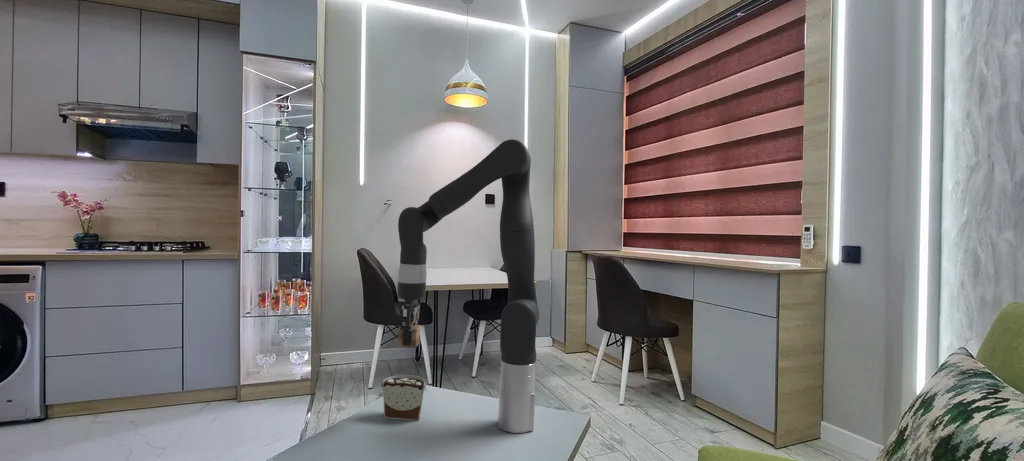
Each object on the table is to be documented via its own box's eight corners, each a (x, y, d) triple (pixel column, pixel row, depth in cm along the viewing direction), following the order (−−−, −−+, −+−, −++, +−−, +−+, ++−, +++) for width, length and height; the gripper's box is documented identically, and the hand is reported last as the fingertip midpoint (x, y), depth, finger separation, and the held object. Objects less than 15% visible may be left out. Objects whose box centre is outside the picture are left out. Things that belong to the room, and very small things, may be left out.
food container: (430, 412, 125) (432, 376, 125) (424, 421, 119) (425, 383, 119) (387, 408, 126) (389, 372, 126) (379, 417, 120) (380, 379, 120)
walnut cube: (419, 343, 125) (420, 325, 125) (415, 347, 120) (416, 329, 120) (401, 342, 125) (402, 324, 125) (396, 346, 120) (397, 328, 120)
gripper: (420, 284, 116) (417, 350, 115) (430, 278, 130) (427, 337, 130) (391, 282, 116) (387, 348, 115) (404, 277, 130) (401, 336, 130)
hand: (408, 342), depth 123 cm, fingers closed on walnut cube, 5 cm apart
